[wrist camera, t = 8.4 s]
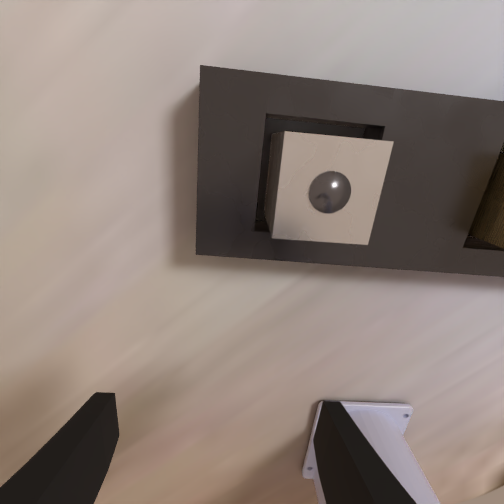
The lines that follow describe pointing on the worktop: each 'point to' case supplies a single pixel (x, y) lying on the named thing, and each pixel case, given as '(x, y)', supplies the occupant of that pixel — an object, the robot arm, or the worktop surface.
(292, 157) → the cube with round knob
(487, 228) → the yellow block with knob
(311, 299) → the worktop surface
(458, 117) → the dark grey socket board
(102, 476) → the robot arm
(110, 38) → the worktop surface
